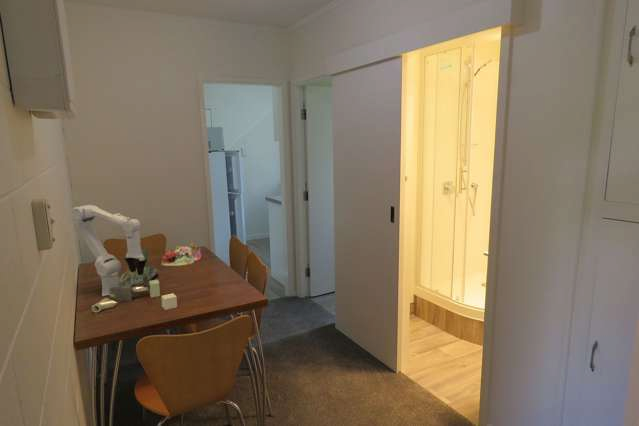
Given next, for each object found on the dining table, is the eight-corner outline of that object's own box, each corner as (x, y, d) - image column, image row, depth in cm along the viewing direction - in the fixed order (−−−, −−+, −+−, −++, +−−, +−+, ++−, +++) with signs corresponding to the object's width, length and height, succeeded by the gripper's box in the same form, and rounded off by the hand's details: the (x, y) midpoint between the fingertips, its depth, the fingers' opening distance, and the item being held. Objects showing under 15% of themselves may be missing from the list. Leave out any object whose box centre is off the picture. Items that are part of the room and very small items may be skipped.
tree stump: (105, 284, 202) (109, 247, 204) (141, 282, 220) (145, 248, 222) (128, 288, 192) (132, 250, 194) (164, 285, 210) (167, 251, 212)
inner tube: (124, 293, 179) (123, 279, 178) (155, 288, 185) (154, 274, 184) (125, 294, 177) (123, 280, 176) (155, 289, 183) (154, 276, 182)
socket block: (149, 293, 186) (148, 280, 185) (158, 292, 188) (157, 279, 187) (150, 297, 181) (149, 284, 180) (160, 295, 183) (159, 283, 182)
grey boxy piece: (110, 300, 178) (109, 287, 177) (131, 297, 182) (130, 284, 181) (110, 304, 173) (109, 291, 172) (131, 300, 177) (130, 287, 176)
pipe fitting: (118, 306, 172) (103, 305, 172) (118, 298, 172) (103, 296, 172) (107, 314, 164) (92, 312, 165) (107, 305, 164) (91, 303, 164)
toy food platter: (163, 257, 252) (162, 243, 251) (201, 254, 259) (200, 240, 257) (160, 268, 228) (158, 252, 227) (201, 264, 235) (200, 249, 234)
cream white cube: (162, 306, 170) (161, 295, 169) (173, 303, 173) (172, 293, 172) (165, 310, 166) (164, 299, 165) (177, 307, 169) (176, 296, 168)
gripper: (118, 244, 183) (121, 272, 185) (132, 248, 174) (135, 278, 176) (133, 241, 188) (136, 269, 190) (147, 245, 179) (150, 274, 181)
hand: (136, 273), depth 184 cm, fingers open, 7 cm apart
